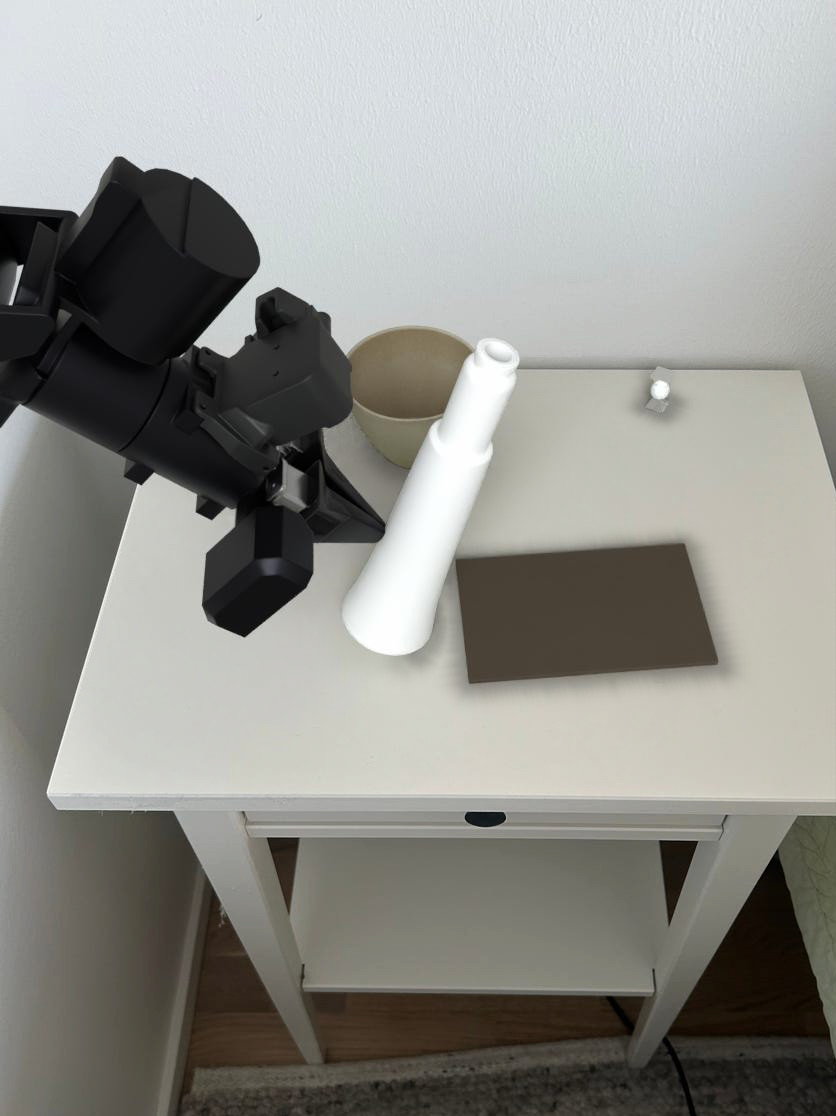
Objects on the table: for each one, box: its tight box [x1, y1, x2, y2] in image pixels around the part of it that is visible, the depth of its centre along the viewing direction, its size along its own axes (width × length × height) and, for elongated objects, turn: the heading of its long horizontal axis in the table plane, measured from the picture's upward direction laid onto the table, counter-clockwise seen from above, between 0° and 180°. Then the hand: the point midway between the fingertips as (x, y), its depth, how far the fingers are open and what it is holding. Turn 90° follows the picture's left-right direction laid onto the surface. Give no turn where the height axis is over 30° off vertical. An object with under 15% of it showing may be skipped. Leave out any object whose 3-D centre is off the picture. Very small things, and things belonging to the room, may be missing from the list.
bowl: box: [345, 325, 475, 469], centre depth 73 cm, size 10×10×7 cm
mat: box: [455, 543, 719, 685], centre depth 67 cm, size 16×10×1 cm, turn 96°
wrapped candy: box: [644, 365, 677, 414], centre depth 77 cm, size 2×2×3 cm
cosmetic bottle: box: [341, 337, 521, 657], centre depth 57 cm, size 6×6×22 cm
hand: (381, 534), depth 59 cm, fingers closed
